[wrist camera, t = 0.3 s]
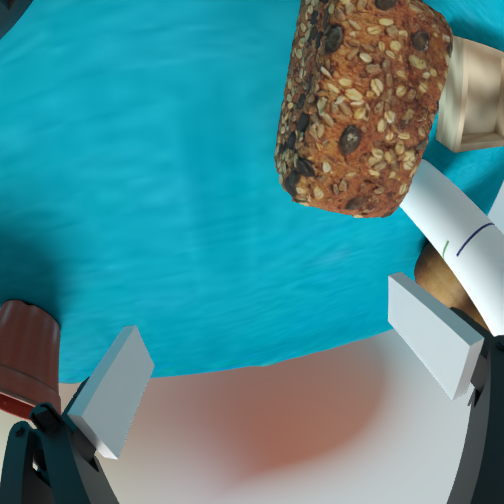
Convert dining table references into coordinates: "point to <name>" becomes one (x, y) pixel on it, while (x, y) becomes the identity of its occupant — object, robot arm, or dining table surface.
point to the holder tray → (472, 98)
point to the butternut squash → (444, 283)
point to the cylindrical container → (461, 239)
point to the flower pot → (28, 358)
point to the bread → (360, 102)
